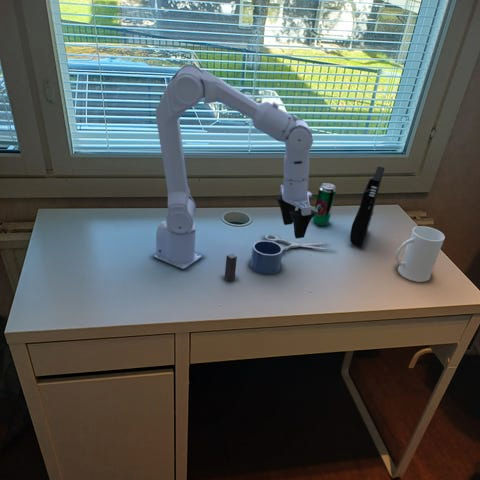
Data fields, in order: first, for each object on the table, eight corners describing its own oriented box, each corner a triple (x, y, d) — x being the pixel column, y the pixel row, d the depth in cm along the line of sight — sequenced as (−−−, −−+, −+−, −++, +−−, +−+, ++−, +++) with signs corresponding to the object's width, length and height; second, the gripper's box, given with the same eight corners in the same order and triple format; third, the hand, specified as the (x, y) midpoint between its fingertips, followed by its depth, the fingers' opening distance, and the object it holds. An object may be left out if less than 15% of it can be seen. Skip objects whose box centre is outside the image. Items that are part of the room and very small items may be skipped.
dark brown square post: (224, 278, 116) (226, 255, 112) (230, 276, 117) (232, 253, 113) (228, 281, 115) (231, 258, 111) (234, 279, 116) (237, 256, 112)
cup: (245, 267, 121) (247, 248, 118) (259, 255, 127) (262, 237, 123) (271, 277, 118) (274, 258, 115) (284, 265, 124) (287, 246, 120)
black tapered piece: (362, 249, 135) (381, 181, 123) (346, 245, 136) (364, 178, 124) (368, 232, 144) (386, 167, 132) (353, 228, 145) (370, 164, 133)
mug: (395, 282, 122) (409, 241, 115) (381, 265, 129) (394, 225, 121) (436, 281, 124) (452, 241, 117) (420, 264, 131) (435, 225, 124)
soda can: (329, 227, 144) (338, 190, 137) (313, 226, 144) (320, 188, 137) (327, 220, 148) (335, 183, 141) (311, 218, 148) (318, 181, 141)
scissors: (259, 234, 135) (327, 236, 137) (259, 236, 135) (326, 238, 138) (264, 253, 126) (336, 254, 129) (264, 255, 127) (336, 257, 129)
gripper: (325, 185, 104) (320, 241, 112) (300, 164, 115) (297, 216, 123) (295, 190, 102) (293, 246, 110) (272, 168, 113) (272, 220, 122)
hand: (293, 230), depth 117 cm, fingers open, 7 cm apart
